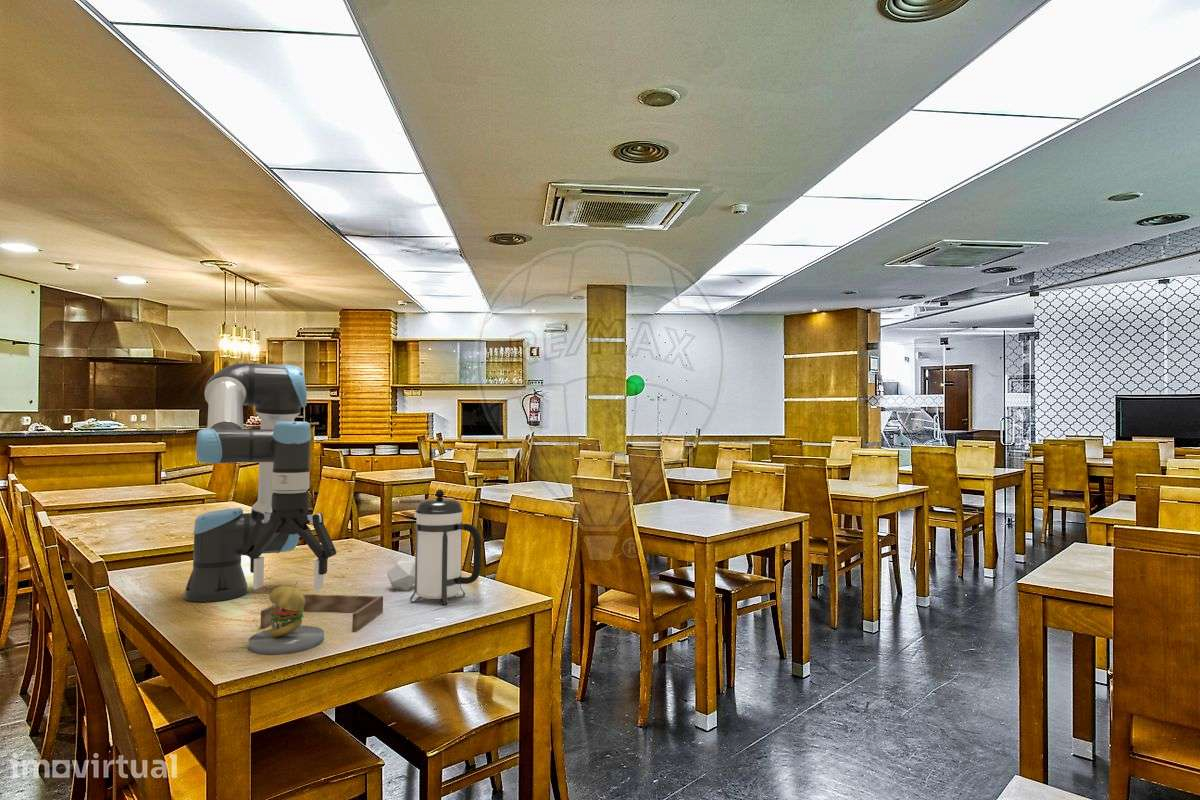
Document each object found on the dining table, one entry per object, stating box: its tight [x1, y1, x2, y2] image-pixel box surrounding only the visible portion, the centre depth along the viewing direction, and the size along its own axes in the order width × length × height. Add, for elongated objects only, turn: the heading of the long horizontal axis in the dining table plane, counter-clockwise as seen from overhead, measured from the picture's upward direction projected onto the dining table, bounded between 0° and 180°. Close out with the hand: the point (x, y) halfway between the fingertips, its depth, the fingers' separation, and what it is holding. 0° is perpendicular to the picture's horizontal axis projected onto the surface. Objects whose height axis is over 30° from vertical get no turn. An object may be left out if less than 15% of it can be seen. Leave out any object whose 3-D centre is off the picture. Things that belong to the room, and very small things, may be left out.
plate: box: [247, 625, 325, 655], centre depth 149 cm, size 15×15×2 cm
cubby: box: [259, 593, 384, 632], centre depth 166 cm, size 23×16×4 cm
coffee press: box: [409, 489, 482, 607], centre depth 187 cm, size 17×16×30 cm
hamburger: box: [268, 579, 305, 637], centre depth 149 cm, size 8×7×12 cm
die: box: [386, 560, 415, 591], centre depth 198 cm, size 8×9×10 cm
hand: (288, 588), depth 149 cm, fingers open, 13 cm apart
